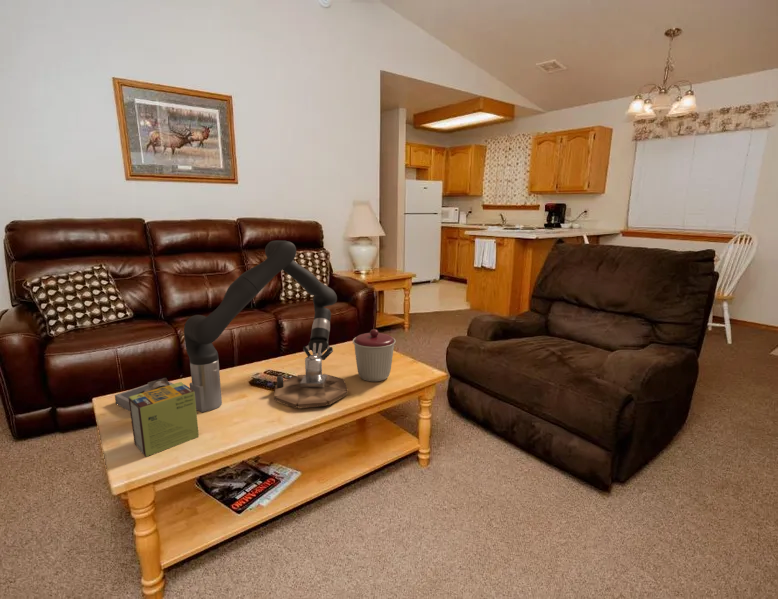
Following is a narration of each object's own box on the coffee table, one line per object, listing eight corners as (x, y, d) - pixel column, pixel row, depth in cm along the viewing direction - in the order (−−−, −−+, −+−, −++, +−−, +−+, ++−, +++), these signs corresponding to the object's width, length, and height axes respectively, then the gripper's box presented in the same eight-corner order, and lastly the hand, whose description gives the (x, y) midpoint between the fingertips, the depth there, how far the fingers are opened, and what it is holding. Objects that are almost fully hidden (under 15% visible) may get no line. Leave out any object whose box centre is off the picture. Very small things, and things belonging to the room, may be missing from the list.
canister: (366, 389, 165) (366, 338, 160) (345, 374, 180) (344, 327, 175) (403, 379, 174) (404, 331, 170) (381, 366, 189) (381, 321, 185)
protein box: (199, 436, 130) (195, 390, 126) (145, 457, 118) (139, 407, 115) (185, 425, 136) (181, 381, 133) (133, 444, 125) (127, 396, 122)
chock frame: (138, 415, 142) (137, 406, 142) (116, 404, 150) (114, 395, 150) (186, 396, 157) (185, 388, 156) (163, 387, 165) (162, 379, 164)
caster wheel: (134, 415, 147) (141, 399, 156) (167, 406, 150) (173, 391, 158) (126, 400, 145) (134, 385, 154) (161, 391, 147) (166, 376, 156)
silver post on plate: (323, 387, 160) (322, 360, 158) (300, 386, 161) (299, 359, 158) (327, 378, 169) (326, 352, 167) (305, 377, 169) (304, 352, 167)
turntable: (313, 414, 142) (312, 399, 141) (259, 395, 156) (258, 381, 155) (360, 386, 164) (360, 374, 163) (309, 372, 178) (309, 360, 177)
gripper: (303, 326, 174) (297, 364, 165) (334, 327, 173) (330, 365, 164) (306, 334, 180) (300, 372, 171) (337, 335, 180) (332, 372, 170)
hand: (315, 368), depth 168 cm, fingers closed
